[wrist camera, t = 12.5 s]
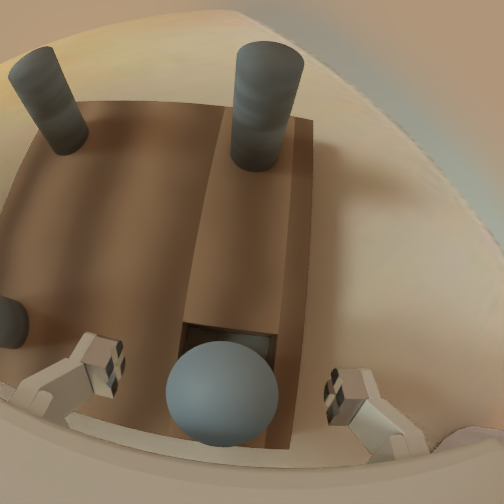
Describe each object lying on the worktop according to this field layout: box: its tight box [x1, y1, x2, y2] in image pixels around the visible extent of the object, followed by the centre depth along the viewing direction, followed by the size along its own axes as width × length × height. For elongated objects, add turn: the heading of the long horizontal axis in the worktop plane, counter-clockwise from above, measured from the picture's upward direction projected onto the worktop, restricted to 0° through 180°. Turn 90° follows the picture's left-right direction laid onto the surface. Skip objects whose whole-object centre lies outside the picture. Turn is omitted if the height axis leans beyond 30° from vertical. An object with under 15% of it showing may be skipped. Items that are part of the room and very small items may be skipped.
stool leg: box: [166, 341, 279, 447], centre depth 13 cm, size 3×3×11 cm
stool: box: [0, 41, 313, 449], centre depth 15 cm, size 22×22×11 cm
